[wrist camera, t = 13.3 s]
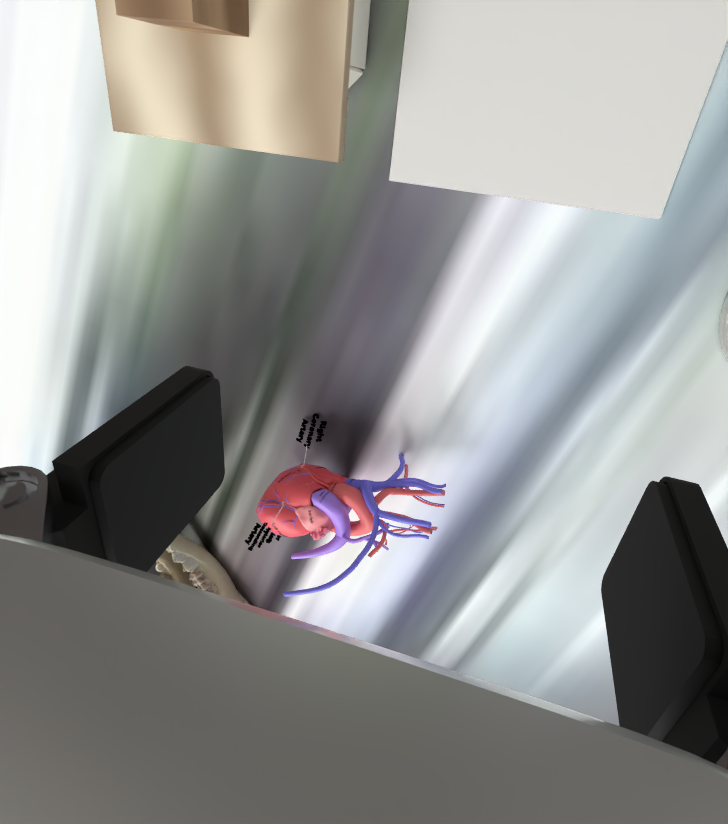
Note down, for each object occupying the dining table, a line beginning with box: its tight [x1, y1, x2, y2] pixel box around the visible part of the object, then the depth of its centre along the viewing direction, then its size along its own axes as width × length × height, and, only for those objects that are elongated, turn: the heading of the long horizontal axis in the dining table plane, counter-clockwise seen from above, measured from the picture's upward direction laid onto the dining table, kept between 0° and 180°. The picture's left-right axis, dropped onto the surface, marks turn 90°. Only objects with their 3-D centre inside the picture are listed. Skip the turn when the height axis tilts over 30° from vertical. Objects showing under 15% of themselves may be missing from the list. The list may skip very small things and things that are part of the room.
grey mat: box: [389, 0, 728, 219], centre depth 30 cm, size 18×18×1 cm
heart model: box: [245, 414, 446, 596], centre depth 45 cm, size 15×9×18 cm
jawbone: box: [156, 534, 245, 603], centre depth 59 cm, size 25×10×14 cm, turn 19°
